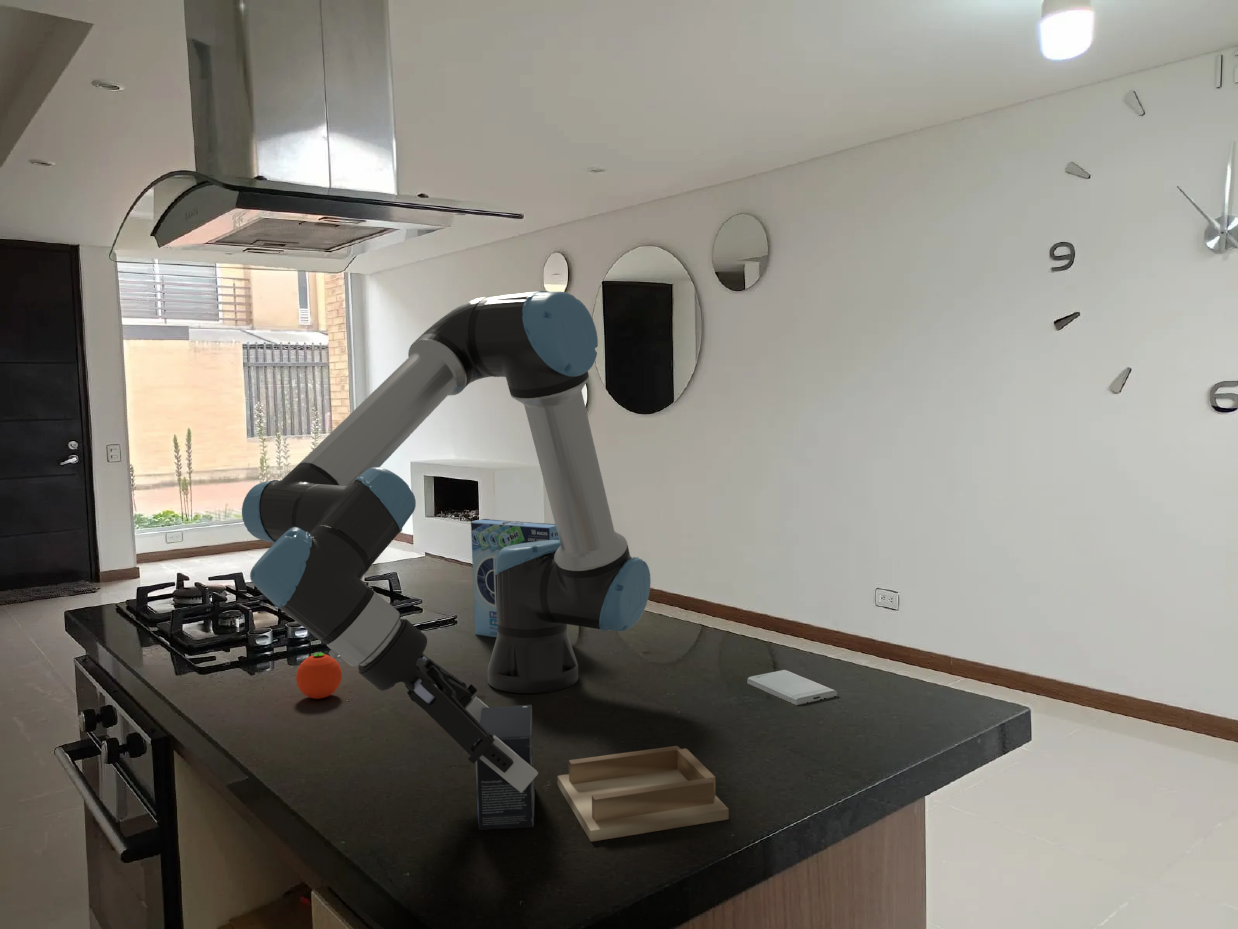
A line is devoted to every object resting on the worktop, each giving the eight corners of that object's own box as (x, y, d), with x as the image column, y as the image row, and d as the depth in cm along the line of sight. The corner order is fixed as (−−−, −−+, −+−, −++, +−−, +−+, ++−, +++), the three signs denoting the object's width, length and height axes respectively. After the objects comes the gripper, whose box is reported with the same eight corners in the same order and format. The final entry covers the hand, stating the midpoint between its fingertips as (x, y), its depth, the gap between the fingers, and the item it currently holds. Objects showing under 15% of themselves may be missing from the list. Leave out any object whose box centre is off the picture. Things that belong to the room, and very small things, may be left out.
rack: (557, 785, 113) (557, 755, 112) (680, 768, 117) (679, 739, 117) (590, 841, 98) (590, 808, 98) (728, 819, 103) (728, 787, 103)
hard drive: (746, 677, 151) (796, 698, 140) (786, 669, 155) (837, 689, 144) (747, 687, 151) (796, 708, 140) (786, 678, 155) (837, 699, 144)
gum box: (567, 641, 178) (565, 524, 176) (552, 648, 174) (549, 527, 172) (489, 629, 188) (486, 517, 186) (472, 635, 184) (469, 521, 182)
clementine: (299, 690, 150) (297, 648, 150) (343, 687, 152) (342, 644, 151) (294, 706, 142) (293, 661, 142) (341, 702, 144) (340, 658, 143)
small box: (481, 790, 112) (479, 705, 111) (535, 787, 112) (533, 703, 111) (475, 831, 101) (473, 738, 100) (534, 828, 102) (533, 735, 101)
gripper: (352, 640, 112) (478, 745, 118) (357, 705, 88) (515, 833, 94) (395, 593, 113) (518, 699, 119) (412, 646, 90) (565, 775, 95)
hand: (517, 758), depth 106 cm, fingers open, 13 cm apart
